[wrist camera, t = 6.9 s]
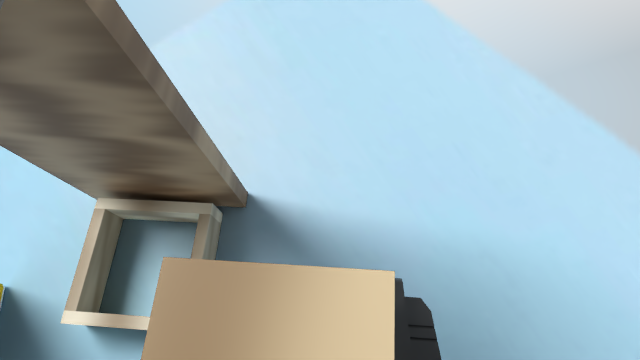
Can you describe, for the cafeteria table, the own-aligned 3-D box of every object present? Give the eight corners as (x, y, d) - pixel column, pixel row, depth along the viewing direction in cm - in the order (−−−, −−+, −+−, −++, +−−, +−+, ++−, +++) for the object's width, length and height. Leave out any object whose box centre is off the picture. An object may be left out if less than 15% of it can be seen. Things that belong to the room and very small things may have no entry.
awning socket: (247, 192, 31) (21, -136, 10) (226, 339, 27) (-239, 331, 6) (102, 186, 32) (-390, -122, 11) (60, 326, 28) (-846, 277, 7)
